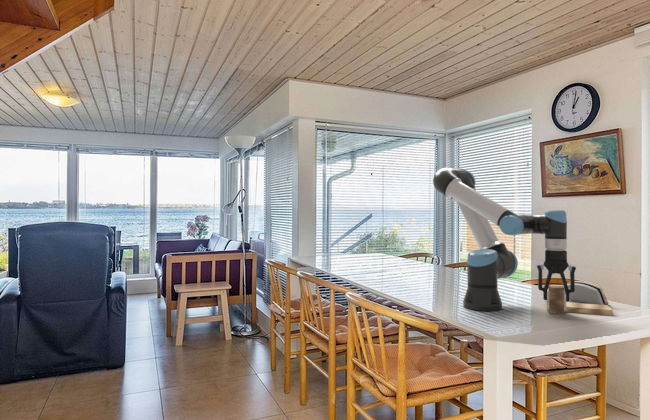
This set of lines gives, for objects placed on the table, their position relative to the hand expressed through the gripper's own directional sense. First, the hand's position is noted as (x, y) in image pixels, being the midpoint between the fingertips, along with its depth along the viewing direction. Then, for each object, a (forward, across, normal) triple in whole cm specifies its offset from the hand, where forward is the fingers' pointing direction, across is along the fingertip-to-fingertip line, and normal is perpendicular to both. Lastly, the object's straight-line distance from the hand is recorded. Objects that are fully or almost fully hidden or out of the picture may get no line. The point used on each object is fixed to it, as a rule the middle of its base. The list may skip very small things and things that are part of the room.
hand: (556, 309), depth 167 cm
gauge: (+1, 0, +6) cm, 6 cm away
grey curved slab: (+2, +13, +26) cm, 29 cm away
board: (+1, +8, +7) cm, 11 cm away
